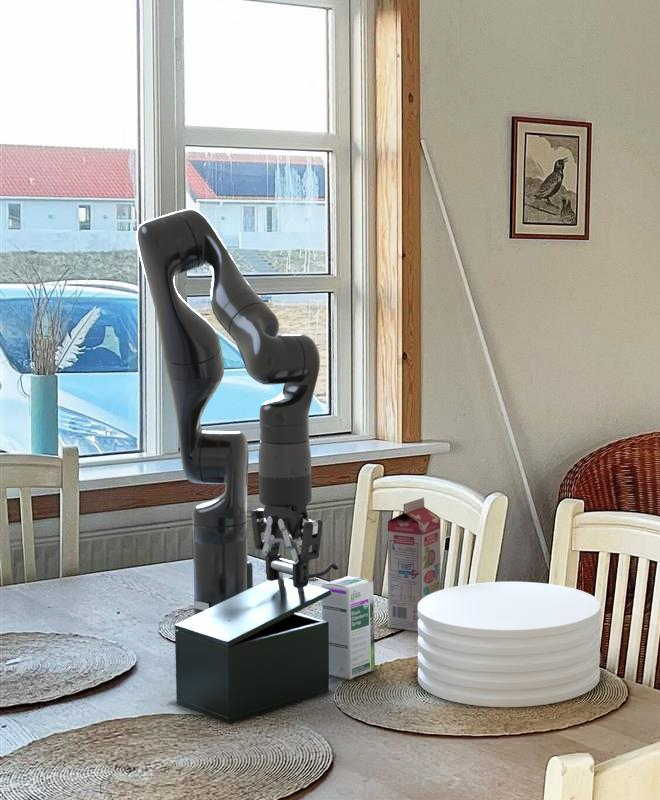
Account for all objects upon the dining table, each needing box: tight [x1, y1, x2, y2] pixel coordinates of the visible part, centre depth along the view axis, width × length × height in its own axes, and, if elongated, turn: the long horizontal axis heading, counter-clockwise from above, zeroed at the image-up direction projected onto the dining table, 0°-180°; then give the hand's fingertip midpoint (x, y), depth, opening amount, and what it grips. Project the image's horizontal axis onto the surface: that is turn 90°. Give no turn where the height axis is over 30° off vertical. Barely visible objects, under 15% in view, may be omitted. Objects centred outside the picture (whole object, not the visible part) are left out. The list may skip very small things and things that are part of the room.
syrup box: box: [320, 575, 376, 680], centre depth 209 cm, size 6×6×14 cm
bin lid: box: [174, 557, 331, 647], centre depth 196 cm, size 18×13×5 cm
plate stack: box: [417, 581, 602, 708], centre depth 209 cm, size 28×28×12 cm
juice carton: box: [387, 496, 442, 632], centre depth 236 cm, size 7×7×22 cm
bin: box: [174, 612, 330, 725], centre depth 197 cm, size 18×13×11 cm
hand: (287, 582), depth 201 cm, fingers closed on bin lid, 5 cm apart
